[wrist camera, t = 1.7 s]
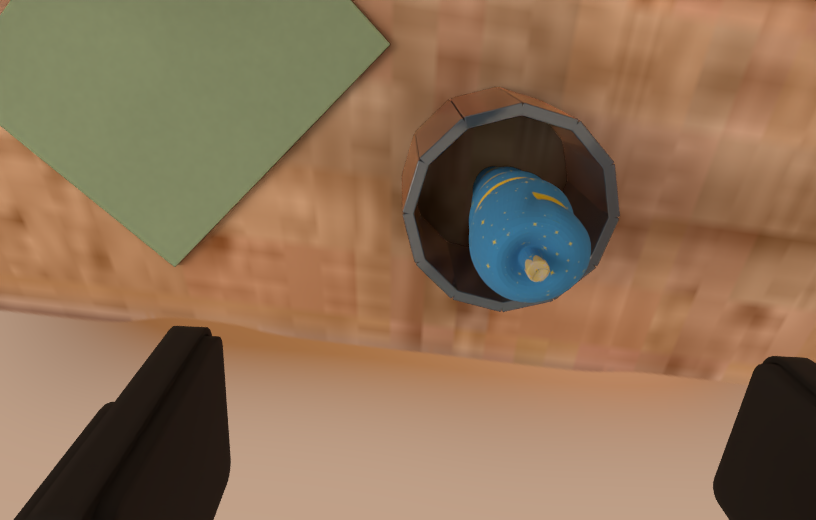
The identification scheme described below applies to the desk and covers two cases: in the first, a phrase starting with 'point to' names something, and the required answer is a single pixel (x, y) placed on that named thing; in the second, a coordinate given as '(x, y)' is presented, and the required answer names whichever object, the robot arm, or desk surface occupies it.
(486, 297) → the crock
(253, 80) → the mat
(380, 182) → the desk surface
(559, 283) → the ornament
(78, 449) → the robot arm
